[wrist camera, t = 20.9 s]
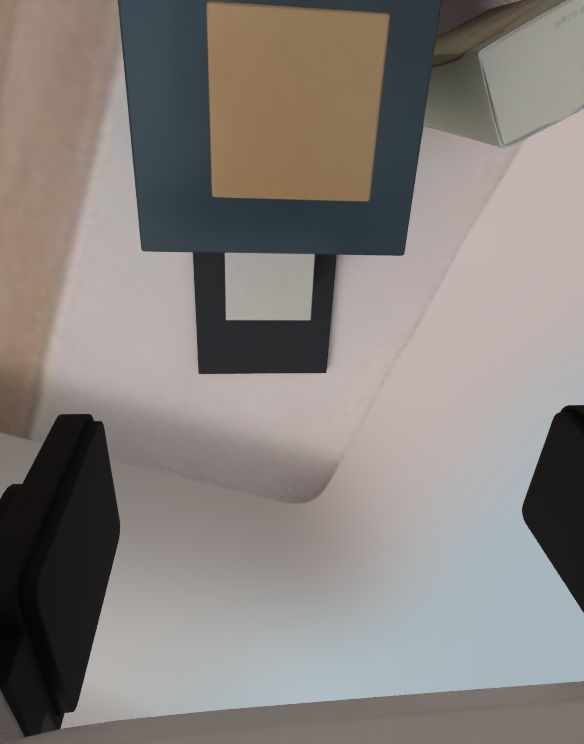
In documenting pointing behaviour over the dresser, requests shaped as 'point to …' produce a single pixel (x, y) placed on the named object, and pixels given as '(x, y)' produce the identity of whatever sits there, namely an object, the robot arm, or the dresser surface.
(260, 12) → the kraft box
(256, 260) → the cream box
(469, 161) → the dresser surface
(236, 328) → the mat
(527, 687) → the robot arm
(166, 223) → the storage box
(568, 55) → the cosmetic box
